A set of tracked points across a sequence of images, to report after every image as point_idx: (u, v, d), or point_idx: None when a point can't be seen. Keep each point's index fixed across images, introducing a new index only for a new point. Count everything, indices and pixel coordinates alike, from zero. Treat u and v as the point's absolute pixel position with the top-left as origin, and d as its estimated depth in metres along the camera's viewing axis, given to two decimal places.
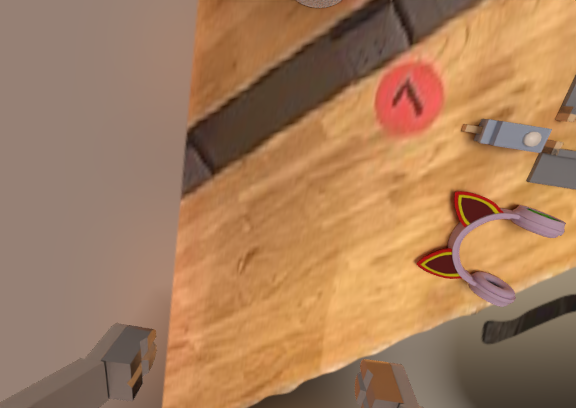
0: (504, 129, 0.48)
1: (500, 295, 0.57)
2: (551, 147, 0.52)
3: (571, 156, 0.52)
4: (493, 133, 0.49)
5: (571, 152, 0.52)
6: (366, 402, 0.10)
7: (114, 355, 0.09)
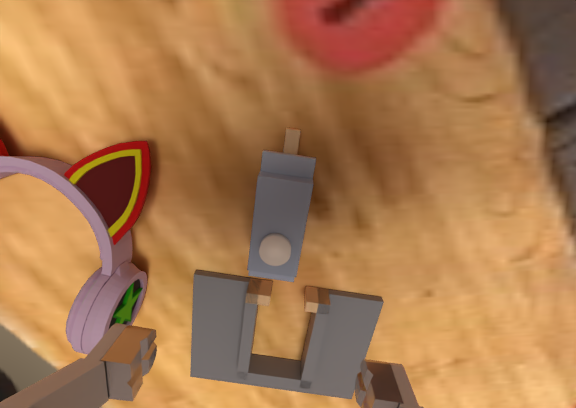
0: (295, 190, 0.21)
1: None
2: (259, 291, 0.29)
3: (245, 323, 0.29)
4: (285, 175, 0.21)
5: (252, 321, 0.29)
6: (366, 402, 0.10)
7: (113, 355, 0.09)
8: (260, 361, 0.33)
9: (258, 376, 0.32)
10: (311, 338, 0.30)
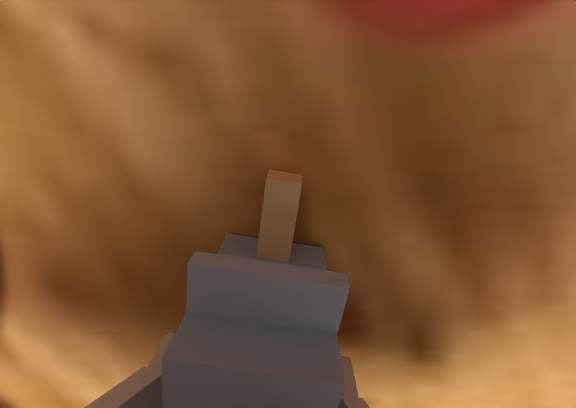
0: (286, 399, 0.06)
1: None
2: None
3: None
4: (256, 329, 0.07)
5: None
6: None
7: None
8: None
9: None
10: None
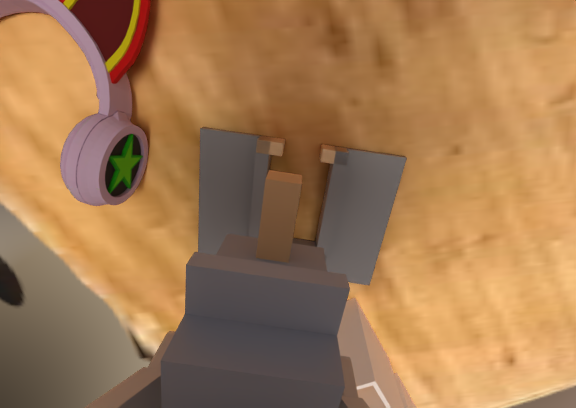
0: (286, 401, 0.06)
1: None
2: (271, 140, 0.26)
3: (256, 179, 0.27)
4: (255, 331, 0.07)
5: (263, 177, 0.27)
6: None
7: None
8: None
9: None
10: (327, 197, 0.27)
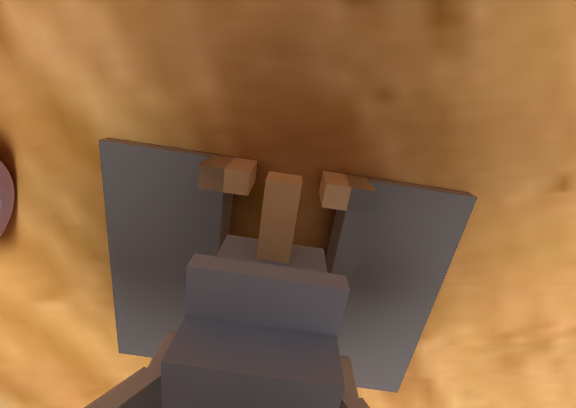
0: (286, 402, 0.06)
1: None
2: (227, 165, 0.14)
3: (201, 236, 0.15)
4: (256, 332, 0.07)
5: (214, 232, 0.14)
6: None
7: None
8: None
9: None
10: (334, 268, 0.15)
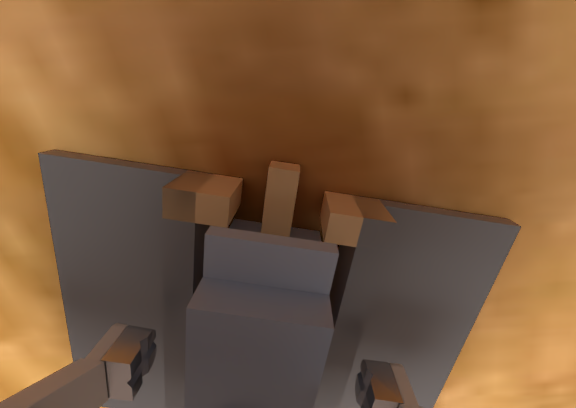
0: (287, 342, 0.08)
1: None
2: (201, 188, 0.11)
3: (169, 277, 0.11)
4: (261, 290, 0.09)
5: (186, 272, 0.11)
6: (366, 402, 0.10)
7: (114, 355, 0.09)
8: None
9: None
10: (339, 317, 0.12)
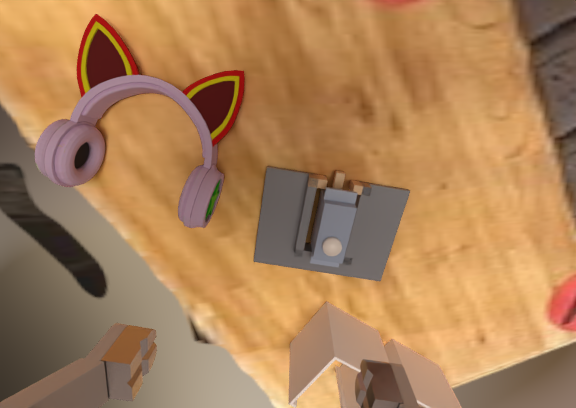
0: (346, 211, 0.35)
1: (57, 153, 0.32)
2: (318, 178, 0.38)
3: (306, 204, 0.39)
4: (338, 202, 0.36)
5: (311, 202, 0.38)
6: (366, 402, 0.10)
7: (113, 354, 0.09)
8: None
9: None
10: (355, 217, 0.39)
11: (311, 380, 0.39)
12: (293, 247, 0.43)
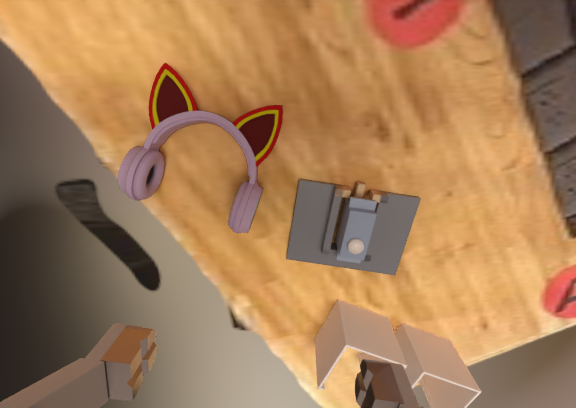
0: (368, 217, 0.43)
1: (136, 175, 0.40)
2: (343, 188, 0.45)
3: (332, 210, 0.46)
4: (361, 209, 0.43)
5: (337, 209, 0.46)
6: (366, 402, 0.10)
7: (113, 355, 0.09)
8: (335, 245, 0.50)
9: (336, 252, 0.49)
10: None
11: (332, 366, 0.47)
12: (320, 246, 0.50)
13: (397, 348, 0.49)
